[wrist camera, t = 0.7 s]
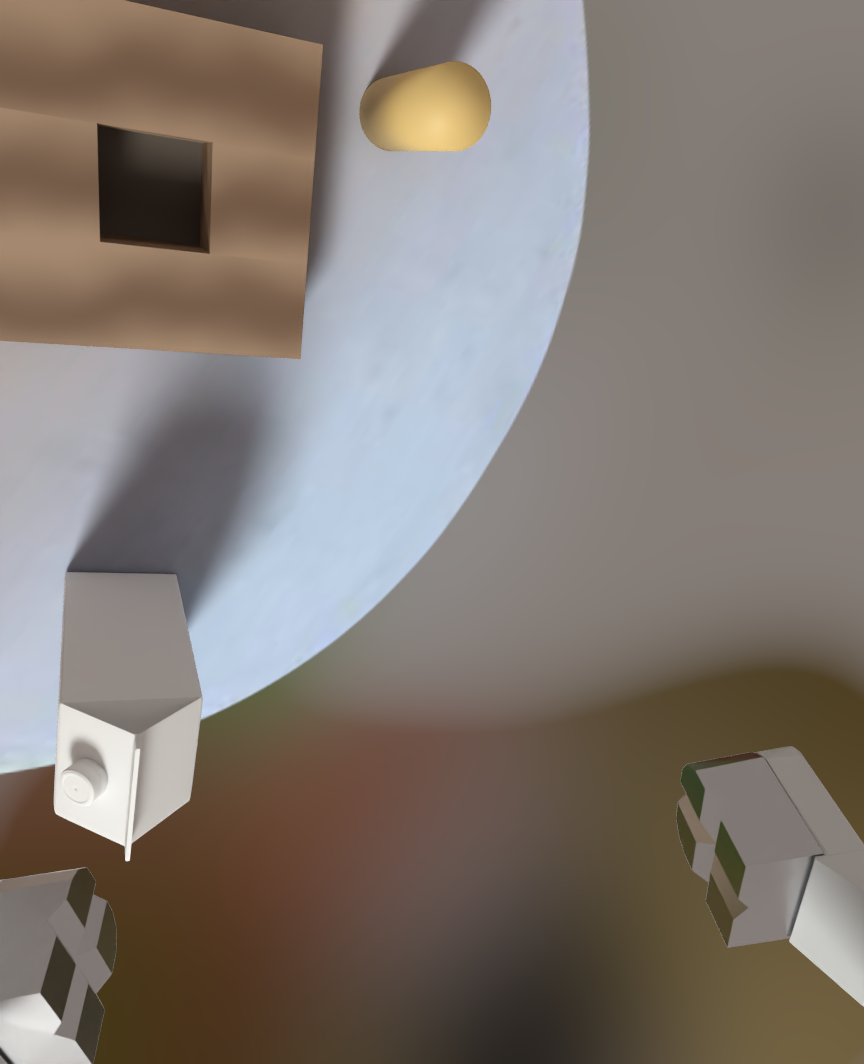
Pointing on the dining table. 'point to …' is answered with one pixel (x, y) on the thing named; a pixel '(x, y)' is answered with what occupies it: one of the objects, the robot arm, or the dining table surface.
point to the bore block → (153, 179)
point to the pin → (427, 109)
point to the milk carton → (125, 704)
